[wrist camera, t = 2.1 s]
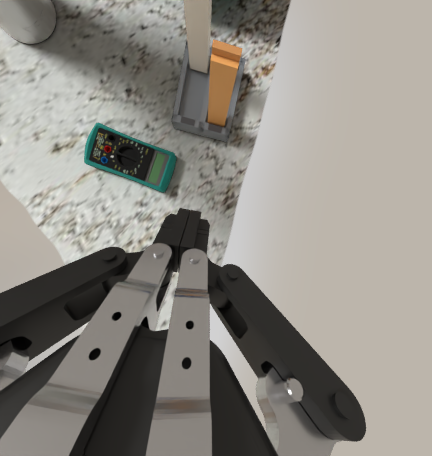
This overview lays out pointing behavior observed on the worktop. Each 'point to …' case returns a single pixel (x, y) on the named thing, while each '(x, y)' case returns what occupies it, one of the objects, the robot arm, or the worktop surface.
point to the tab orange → (222, 80)
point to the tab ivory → (198, 33)
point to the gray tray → (201, 102)
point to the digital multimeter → (129, 157)
